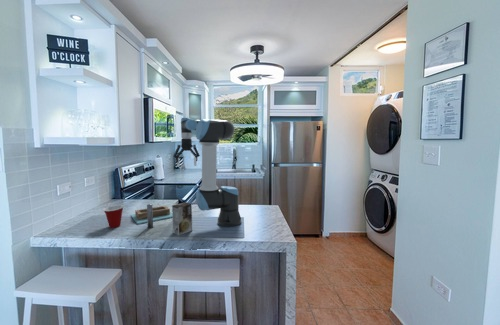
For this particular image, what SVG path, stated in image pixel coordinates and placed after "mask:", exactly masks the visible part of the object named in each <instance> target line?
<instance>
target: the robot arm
mask: <svg viewBox="0 0 500 325" xmlns="http://www.w3.org/2000/svg"><path fill="white" fill-rule="evenodd" d="M180 131H181V142H180V143H181V144H177V145H176V149H175V152H174V154H173V155H172V157H173V158H175V162H176V163H177V165H176V167H178V168H179V167H180V164H181V163H180V156H181V155H182V153H184V152H185V151H186V152H190V153H191V154H192V155H193V165H194V166H197V162H198V158H199V157H200V156H201V185H200V186H199V189H198V190H199V191H197V192H195V201H196V204H197V207H198V209H199V210H200V211H203V212H204V211H211V210H219V209H220V211H219V214H218V218H217V224H218V225H219V226H223V227H236V226H239V225H241V224H242V217H241V215H240V211H239V208H240V207H239V203H240V202H239V200H240V199H239V196H240V194H239V189H238V188H237V187H235V186H228V185H227V186H226V185H222V186H220V187H219V186H218V185H217V162H218V161H217V160H218V159H217V158H218V157H217V154H218V150H217V149H218V147H217V146H218V145H219V144H220V141H221V140H228V139H230V138H231V137H232V136H234V134H235V126H234V124H233V123H232V122H230V121H229V120H225V119H224V120H223V119H210V118H204V119H193V118H191V117H181V120H180ZM192 131H195V138H196V139H197V140H198V141H199V142H198V143H200V145H201V155H200V153H199V152H198V150H197V146H196V144H192V142H193V141H192V138H193V137H192ZM180 148H181V149H180Z"/></svg>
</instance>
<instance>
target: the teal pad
mask: <svg viewBox="0 0 500 325" xmlns="http://www.w3.org/2000/svg"><path fill="white" fill-rule="evenodd" d="M130 217H131V218H132V219H133V221H134V222H135V223H136V225H143V224H148V221H147V219H142V220H138V218H137V217H136V216H135V213H134V214H130ZM169 219H173V213H172V212H171V211H170V214H169V215H164V216H158V217H153V222H157V221H158V222H159V221H163V220H169Z"/></svg>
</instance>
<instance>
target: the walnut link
mask: <svg viewBox="0 0 500 325" xmlns="http://www.w3.org/2000/svg"><path fill="white" fill-rule="evenodd" d="M152 208H153V217H158V216H164V215H169V214H170V212H171V209H170V208H169V207H168V206H166V205H160V206H152ZM134 214H135V216H136V217H137V218H138V220H142V219H147V208H143V209H136V210H135V212H134Z"/></svg>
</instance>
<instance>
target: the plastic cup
mask: <svg viewBox="0 0 500 325" xmlns="http://www.w3.org/2000/svg"><path fill="white" fill-rule="evenodd" d="M123 208H124V205H122V204H117V205H112V206H111V205H110V206H107V207H105V208H103V209H102V210H103V212H104V213H105V216H106V219H107V224H108V227H109V228H110V229H113V228H114V229H115V227H116V228H119V227H121V224H122V217H123V216H122V215H123V210H124V209H123Z"/></svg>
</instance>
